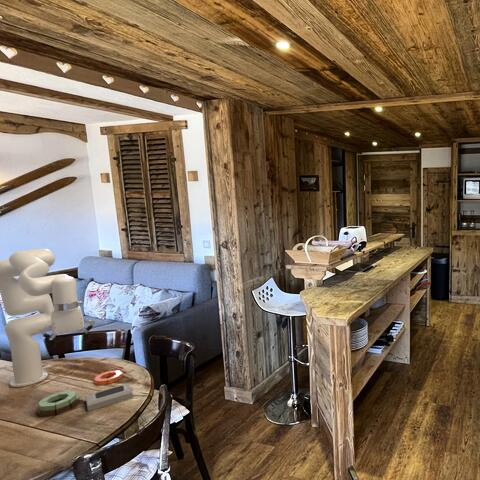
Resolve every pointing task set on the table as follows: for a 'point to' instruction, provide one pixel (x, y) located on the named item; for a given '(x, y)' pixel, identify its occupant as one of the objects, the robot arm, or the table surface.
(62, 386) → the table surface
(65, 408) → the walnut ring
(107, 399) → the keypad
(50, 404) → the green ring
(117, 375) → the terracotta ring
